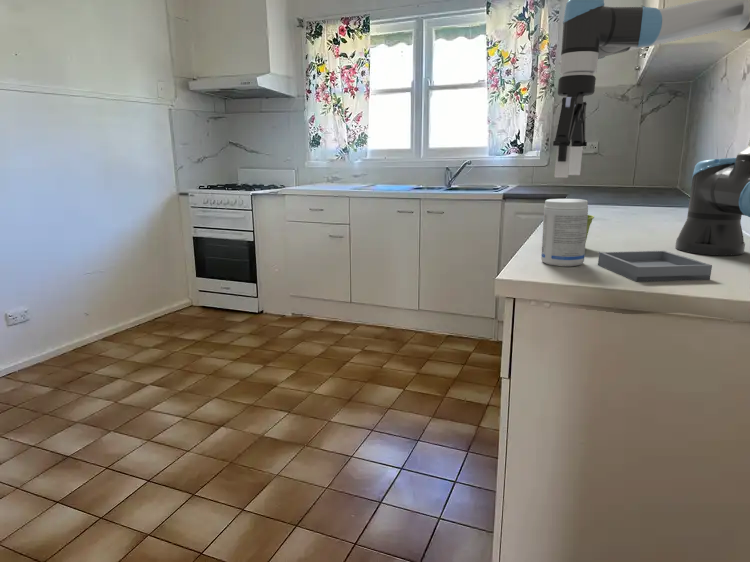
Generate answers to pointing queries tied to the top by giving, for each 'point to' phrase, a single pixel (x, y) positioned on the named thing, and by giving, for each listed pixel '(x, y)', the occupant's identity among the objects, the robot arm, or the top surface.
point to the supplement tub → (564, 231)
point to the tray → (654, 266)
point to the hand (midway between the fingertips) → (567, 176)
